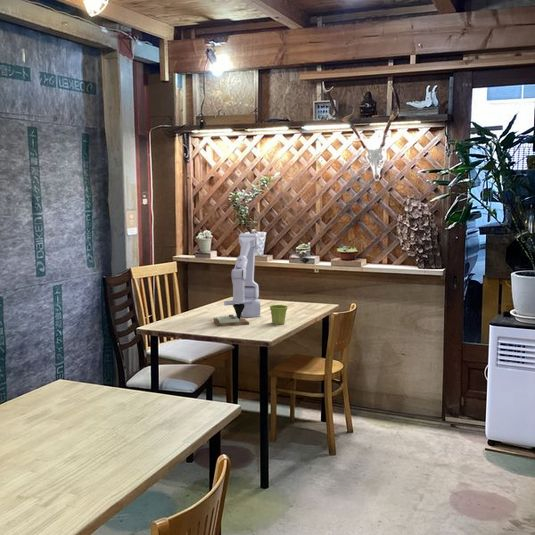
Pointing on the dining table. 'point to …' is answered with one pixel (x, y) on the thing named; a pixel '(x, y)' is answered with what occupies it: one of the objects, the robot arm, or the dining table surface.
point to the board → (241, 322)
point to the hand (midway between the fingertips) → (238, 318)
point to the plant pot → (278, 313)
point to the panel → (227, 319)
